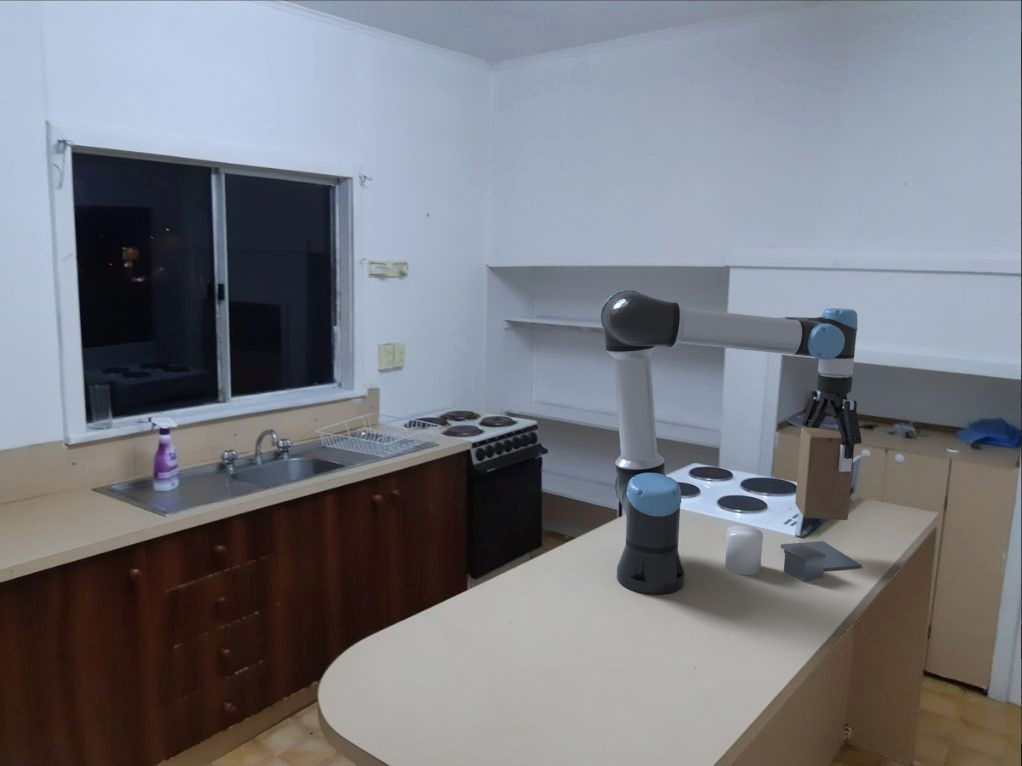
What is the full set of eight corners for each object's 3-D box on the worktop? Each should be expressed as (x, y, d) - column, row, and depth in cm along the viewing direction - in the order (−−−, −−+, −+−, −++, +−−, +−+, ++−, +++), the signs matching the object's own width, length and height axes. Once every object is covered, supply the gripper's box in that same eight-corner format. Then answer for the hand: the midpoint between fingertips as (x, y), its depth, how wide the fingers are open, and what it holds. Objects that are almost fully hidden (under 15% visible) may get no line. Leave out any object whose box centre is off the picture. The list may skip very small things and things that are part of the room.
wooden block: (848, 520, 174) (855, 438, 170) (803, 518, 175) (810, 436, 172) (836, 506, 183) (843, 428, 180) (794, 504, 185) (800, 426, 181)
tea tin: (804, 583, 167) (806, 559, 166) (782, 572, 172) (784, 549, 171) (824, 577, 170) (826, 554, 169) (801, 567, 175) (803, 545, 174)
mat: (816, 571, 173) (816, 568, 173) (780, 546, 187) (780, 544, 187) (861, 567, 175) (861, 564, 175) (822, 543, 190) (823, 540, 189)
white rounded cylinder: (735, 576, 170) (737, 539, 168) (718, 562, 177) (721, 526, 176) (767, 573, 171) (769, 537, 170) (749, 559, 179) (751, 524, 177)
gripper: (884, 383, 162) (875, 477, 166) (818, 366, 186) (812, 449, 189) (854, 384, 161) (846, 479, 165) (791, 367, 184) (785, 451, 188)
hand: (827, 463), depth 177 cm, fingers closed on wooden block, 12 cm apart
